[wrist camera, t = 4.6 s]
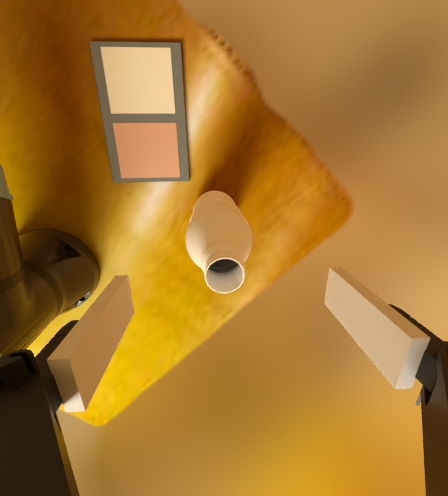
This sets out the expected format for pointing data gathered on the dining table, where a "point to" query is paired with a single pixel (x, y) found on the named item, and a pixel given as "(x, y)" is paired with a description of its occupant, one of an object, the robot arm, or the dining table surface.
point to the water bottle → (219, 241)
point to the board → (142, 109)
